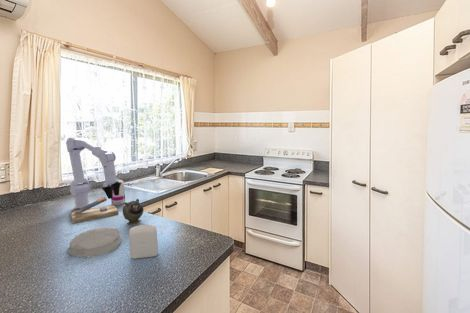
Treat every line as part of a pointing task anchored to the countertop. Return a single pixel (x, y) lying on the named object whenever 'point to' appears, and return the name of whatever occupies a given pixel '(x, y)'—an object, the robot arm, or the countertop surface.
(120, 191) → the supplement can
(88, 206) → the latch bar
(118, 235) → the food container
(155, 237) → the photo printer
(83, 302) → the countertop surface
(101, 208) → the latch board
